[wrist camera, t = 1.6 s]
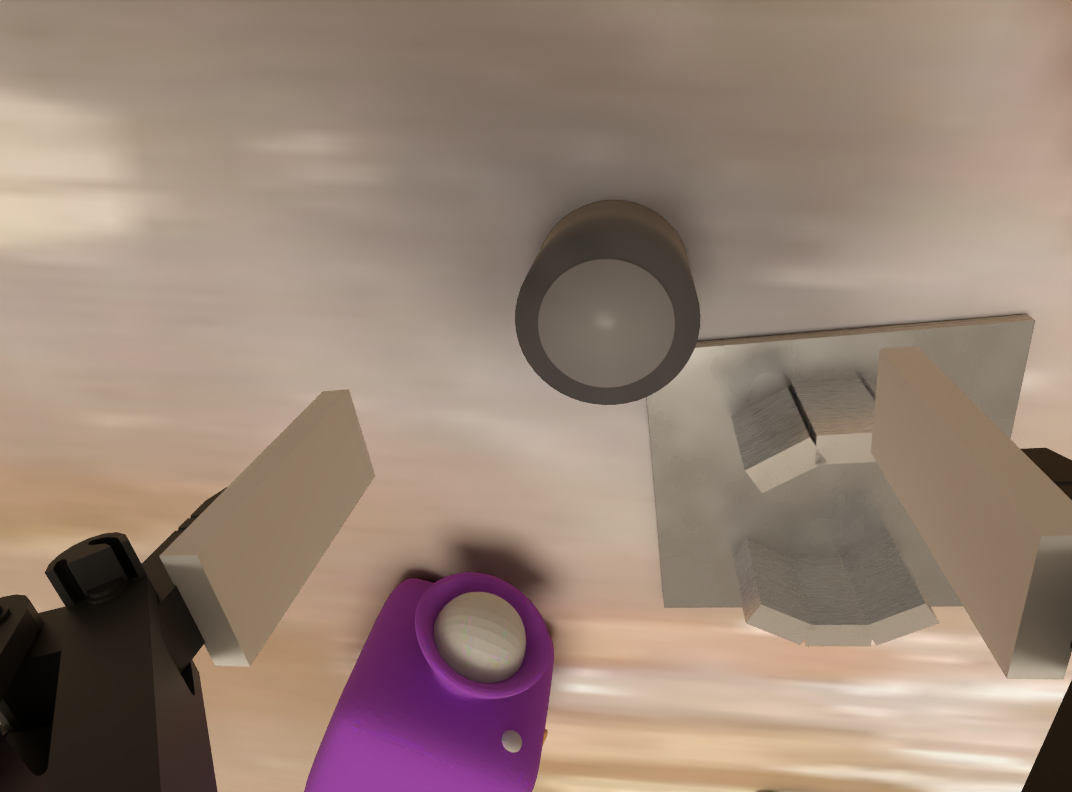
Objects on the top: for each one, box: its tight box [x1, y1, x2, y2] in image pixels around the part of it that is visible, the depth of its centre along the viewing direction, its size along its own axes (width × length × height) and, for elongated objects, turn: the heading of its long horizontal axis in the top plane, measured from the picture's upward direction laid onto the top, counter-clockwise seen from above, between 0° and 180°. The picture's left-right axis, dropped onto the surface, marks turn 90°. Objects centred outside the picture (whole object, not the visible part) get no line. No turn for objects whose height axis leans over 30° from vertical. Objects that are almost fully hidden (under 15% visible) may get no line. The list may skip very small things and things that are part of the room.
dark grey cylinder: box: [515, 200, 700, 405], centre depth 23 cm, size 6×6×5 cm
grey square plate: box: [647, 314, 1035, 646], centre depth 26 cm, size 14×14×5 cm
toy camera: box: [304, 572, 554, 792], centre depth 31 cm, size 11×14×10 cm
